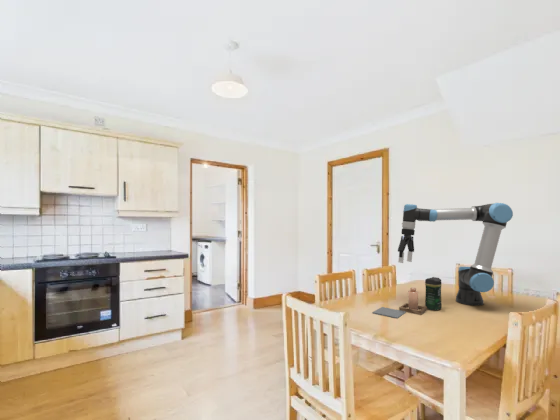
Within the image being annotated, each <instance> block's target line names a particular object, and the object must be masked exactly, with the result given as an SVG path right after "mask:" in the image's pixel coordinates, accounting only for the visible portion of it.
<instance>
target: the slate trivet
mask: <svg viewBox="0 0 560 420" xmlns="http://www.w3.org/2000/svg"><path fill="white" fill-rule="evenodd" d="M406 313H407V312H406V311H401V310H399V309H395V308H391V307H384V306H381V307H379V308H377V309H375V310H374V311H372V314H375V315H379V316H384V317H387V318H388V317H389V318H393V319H399V318H400V317H402V316H404V314H406Z"/></svg>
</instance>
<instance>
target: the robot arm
mask: <svg viewBox="0 0 560 420" xmlns="http://www.w3.org/2000/svg"><path fill="white" fill-rule="evenodd" d="M402 213H403V214H402V223H401V227H402V228H401V235H400V242H399V245H398V248H397V252H398V261H397V262H398V263H400V264H404V260H405V259H404V257H405V252H404V251H405V249H406V247H407V250H408V251H407V256H406V257H407V258H406V261H407V262H408V263H409V262H410V263H412V261H413V260H412V259H413V253H415V243H414V236H415V232H416V231H415V229H416V221H418V222H433V223H434V222H436V221H465V220H466V221H468V220H471V221H472V222H482V224H483V226H484V228H483V230H482V231H483V232H482V235H481V239H480V243H479V246H478V249H477V253H476V256H475V261H474V263H473V264H472V265H470V266H459V267H458V271H457V272H458V290H457V293H456V295H455V301H456V302H457V303H459V304H463V305H467V306H483V305H484V304H485V303H484V299H483V296H482V295H483V294H482V293H487V292H489V291H491V290H492V289H493V287H494V285H495V282H494V281H495V280H494V278H493V276H494V275H493V274H494V270H493V269H492V266H493V263H494V260H495V259H494V258H495V254H496V252H497V248H498V245H499V244H498V243H499V239H500V237H501V233H502V230H503V229H506V227H507V224H508V222H510V220H512V218H513V216H514V213H513V209H512V208H511V207H510V205H508V204H507V203H504V202H503V203H502V202H495V203H486V204H481V205H474V206H471V207H460V208H459V207H458V208H434V209H433V208H431V209H430V208H419V207H418V206H417V204H413V203H412V204H411V203H406V204H404V207H403V211H402Z"/></svg>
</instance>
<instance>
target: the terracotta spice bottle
mask: <svg viewBox="0 0 560 420" xmlns="http://www.w3.org/2000/svg"><path fill="white" fill-rule="evenodd" d="M407 295H408V296H407V297H408V300H407V301H408V302H407V303H409V307H408V309H414V310H419V309H418V305H419V291H417V288H416V287H410V290H408V293H407Z"/></svg>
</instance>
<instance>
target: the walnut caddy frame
mask: <svg viewBox="0 0 560 420" xmlns="http://www.w3.org/2000/svg"><path fill="white" fill-rule="evenodd" d="M398 310H401V311H406V313H408V314H414V315H419V316H422V315H423V314H424V313H426V312H427V311H428V309H427V307H426V306H425V305H419V304H418V310H414V309H409V303H408V302H406V303H404V304H403V305H401V306H399V308H398Z"/></svg>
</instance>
